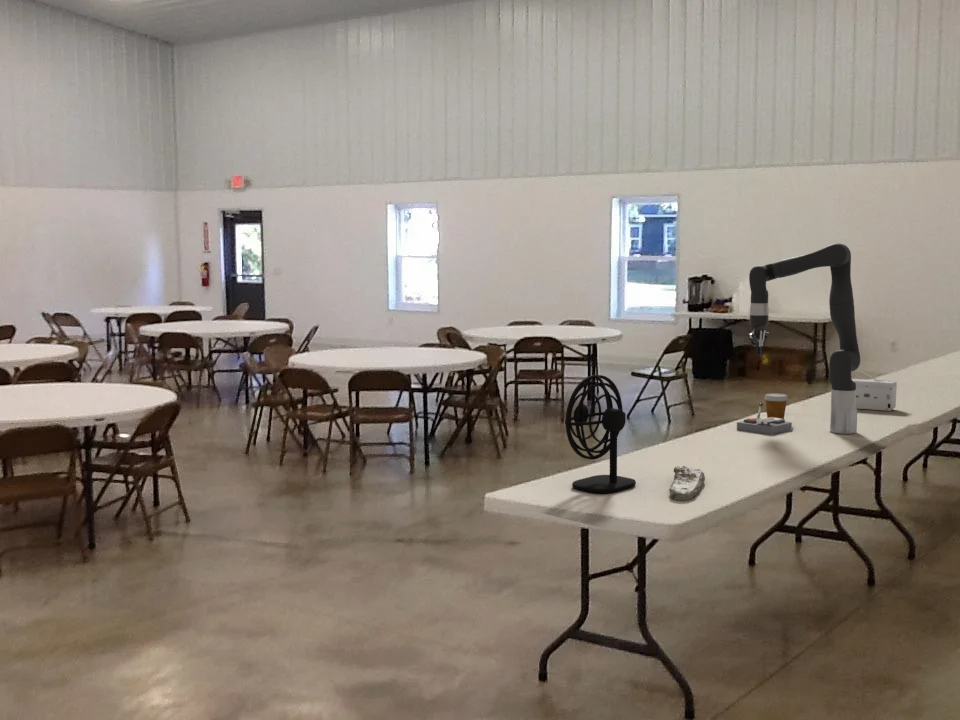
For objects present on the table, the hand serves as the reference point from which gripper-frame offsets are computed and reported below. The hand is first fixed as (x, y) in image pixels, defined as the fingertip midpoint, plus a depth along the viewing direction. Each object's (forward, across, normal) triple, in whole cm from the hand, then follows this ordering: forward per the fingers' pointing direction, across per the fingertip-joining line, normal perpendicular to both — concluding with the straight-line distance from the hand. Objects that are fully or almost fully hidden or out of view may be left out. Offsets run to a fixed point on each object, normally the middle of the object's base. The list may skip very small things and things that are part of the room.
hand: (758, 355), depth 425 cm
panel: (+29, -9, -9) cm, 32 cm away
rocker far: (+25, -13, -12) cm, 30 cm away
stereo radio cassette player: (+29, +70, -15) cm, 77 cm away
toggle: (+26, -4, -3) cm, 26 cm away
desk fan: (+29, -130, -26) cm, 136 cm away
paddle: (+26, -5, -12) cm, 29 cm away
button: (+26, -12, -5) cm, 29 cm away
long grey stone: (+30, -113, -46) cm, 125 cm away
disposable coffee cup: (+29, +8, -4) cm, 31 cm away
